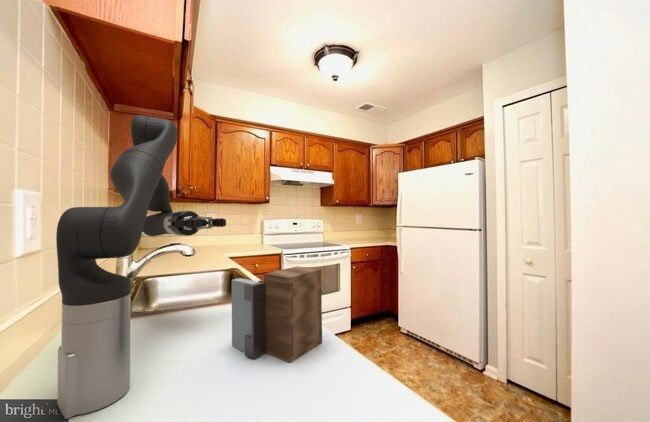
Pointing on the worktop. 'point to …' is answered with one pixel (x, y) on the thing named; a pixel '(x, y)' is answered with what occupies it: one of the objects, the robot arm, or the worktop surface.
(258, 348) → the hinge clips
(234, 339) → the door
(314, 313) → the cabinet
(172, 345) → the worktop surface
